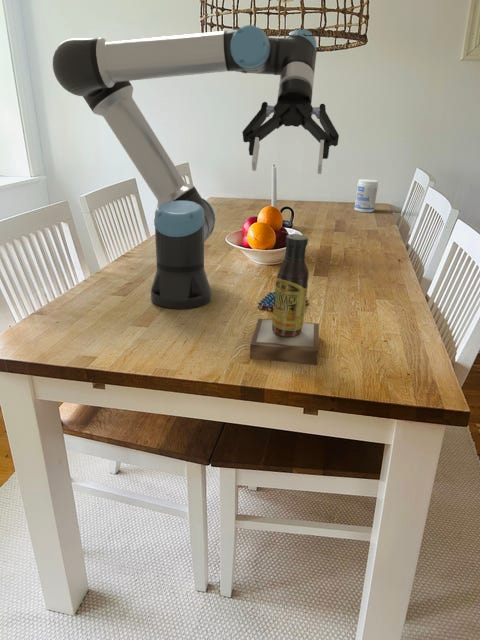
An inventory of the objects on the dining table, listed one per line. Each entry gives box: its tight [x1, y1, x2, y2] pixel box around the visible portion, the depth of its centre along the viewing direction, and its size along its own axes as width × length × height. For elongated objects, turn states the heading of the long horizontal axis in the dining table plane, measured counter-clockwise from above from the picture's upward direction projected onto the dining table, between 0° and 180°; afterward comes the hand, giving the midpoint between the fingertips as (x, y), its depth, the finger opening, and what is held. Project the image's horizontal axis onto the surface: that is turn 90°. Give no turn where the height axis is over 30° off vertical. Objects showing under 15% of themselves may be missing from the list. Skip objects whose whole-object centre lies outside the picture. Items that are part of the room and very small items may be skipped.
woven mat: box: [257, 291, 310, 312], centre depth 122 cm, size 10×11×2 cm
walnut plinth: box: [249, 318, 320, 366], centre depth 100 cm, size 13×13×3 cm
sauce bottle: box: [272, 233, 310, 337], centre depth 95 cm, size 7×6×20 cm
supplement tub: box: [354, 178, 379, 213], centre depth 238 cm, size 10×10×15 cm
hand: (286, 168), depth 101 cm, fingers open, 13 cm apart
